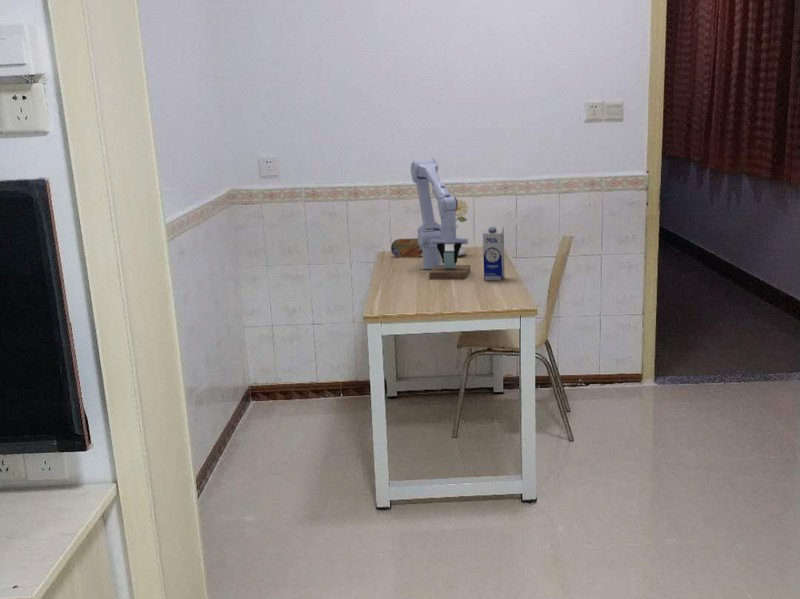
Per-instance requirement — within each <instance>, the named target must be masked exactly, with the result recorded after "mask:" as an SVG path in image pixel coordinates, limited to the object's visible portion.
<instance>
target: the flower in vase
mask: <svg viewBox="0 0 800 599" xmlns="http://www.w3.org/2000/svg"><path fill="white" fill-rule="evenodd" d="M457 201H458V209H457V211H455V214H456V222H457V221H459V222H460V223H464V222H466V221H468V219H467V218H466V216H465V217H464V216H463V215H466V214H467V213H468V211H469V210H468V209H469V206H468V203H466V202H467V201H466V200H463V199H459V198H457ZM458 227H459V224H458V223H456V229H457V228H458ZM451 243H454V242H451ZM454 245H455V244H446V245H445V251H454ZM466 254H467V250H466V248H465V247H463V246H462V245H461V248H460V250H459V253H458V257H462V256H464V255H466Z"/></svg>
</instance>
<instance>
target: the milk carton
mask: <svg viewBox="0 0 800 599" xmlns="http://www.w3.org/2000/svg"><path fill="white" fill-rule="evenodd" d="M504 226H505V225H485V226H484V229H483V231H482V250H483V251H482V252H483V281H484V280H502V279H503V278H504V279H505V277H506V276H505V240H504V237H505V235H504V233H505V232H504V230H505V228H504ZM504 276H505V277H504ZM504 279H503V280H504ZM503 280H502V281H503Z"/></svg>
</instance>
